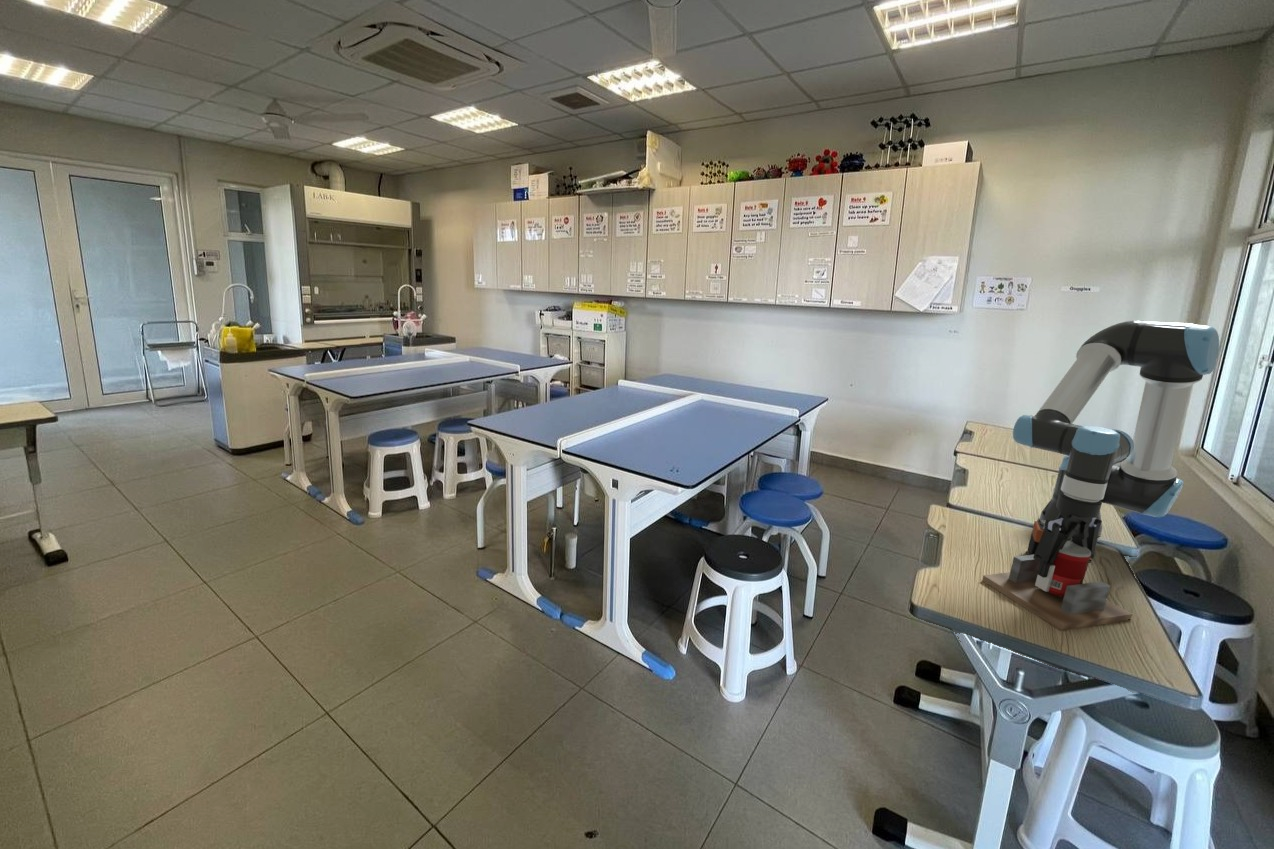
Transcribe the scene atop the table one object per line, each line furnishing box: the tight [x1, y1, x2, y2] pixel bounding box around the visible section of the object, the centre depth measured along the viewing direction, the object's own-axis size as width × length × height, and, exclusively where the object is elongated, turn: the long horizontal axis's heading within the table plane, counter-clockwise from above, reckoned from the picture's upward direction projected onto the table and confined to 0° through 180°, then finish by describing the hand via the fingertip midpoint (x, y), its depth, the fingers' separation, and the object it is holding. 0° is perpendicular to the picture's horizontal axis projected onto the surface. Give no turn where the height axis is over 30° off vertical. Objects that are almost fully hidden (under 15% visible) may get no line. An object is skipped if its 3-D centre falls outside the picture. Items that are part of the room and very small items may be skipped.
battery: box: [1027, 520, 1046, 555], centre depth 145 cm, size 4×7×10 cm, turn 150°
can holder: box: [981, 554, 1133, 631], centre depth 126 cm, size 20×20×8 cm
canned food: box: [1048, 540, 1091, 597], centre depth 124 cm, size 8×8×11 cm
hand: (1055, 586), depth 126 cm, fingers closed on canned food, 8 cm apart
